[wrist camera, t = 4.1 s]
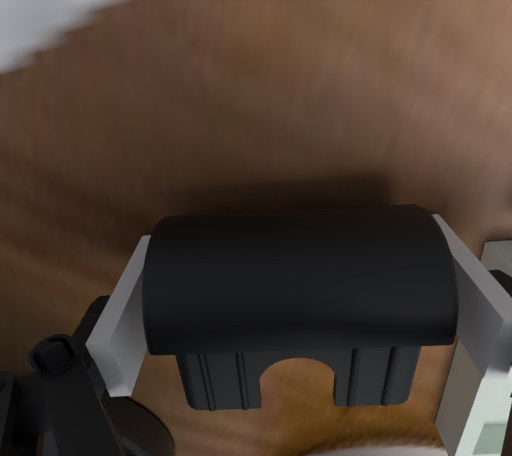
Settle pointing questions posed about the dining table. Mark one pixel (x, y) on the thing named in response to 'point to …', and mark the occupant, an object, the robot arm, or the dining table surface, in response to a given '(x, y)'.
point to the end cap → (299, 299)
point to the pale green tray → (476, 389)
